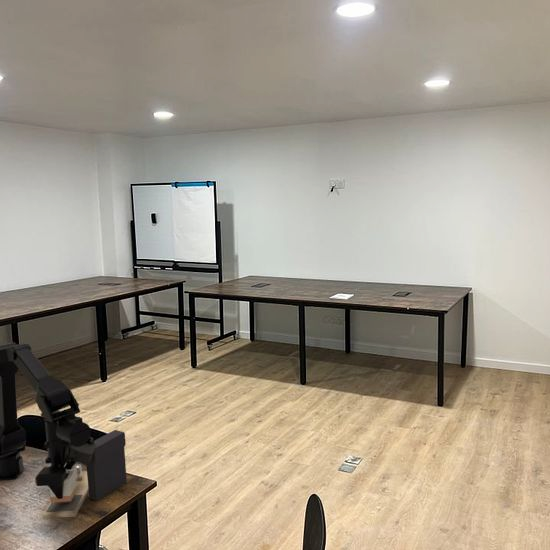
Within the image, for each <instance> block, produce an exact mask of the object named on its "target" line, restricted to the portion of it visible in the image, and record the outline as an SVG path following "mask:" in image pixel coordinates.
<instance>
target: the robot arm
mask: <svg viewBox="0 0 550 550" xmlns="http://www.w3.org/2000/svg"><path fill="white" fill-rule="evenodd" d="M19 371H20V372H21V374H22V375H23V377H24V378H25V380H26V381H27V382H28V384H29V385H30V386H31V388H32V389H33V390H34V392H35V398H34V399H35V402H36V404H37V408H38V409H39V411H40V412H41V413H40V417H42V418H44V427H45V428H44V429H45V430H44V431H45V437H46V438H45V439H46V440H45V442H44V443H43V448H44V449H46V450H47V451H46V452H47V456H46V458H45V460H44V461H45V464H50V466H45V467H42V469H41V470H40V471H39V472H38V473H37V475H36V476H35V478H34V480H35V486H36V487H45V486H46V487H48V489H49V488H50V489H51V490H52V492H53V493H54V494H55V496H56V497H57V498H58V499H62V498H63V488H64V481H65V480H66V478H67V477H68V475H69V473H67V474H66V470H70V469H74V466H75V465H76V463H78V464H81V465H84V466H86V465H88V464H89V463H90V461H91V459H92V458H93V454H94V451H95V448H96V447H95V445H96V444H94V441H95V439H94V437H92V436H91V435H92V428H91V427H90V425H89V424H88V423H86V422H83V418H82V417H80V416H76V415H77V414H80V413H81V409H80V407H79V406H80V404H79V403H78V401H77V399H76V397H75V396H74V394H73V391H72V389H70V387H68V386H67V385H66V384H65V383H64V382H63V381H62V380H60V379H57V378H55V377H52V376H51V374H50V373H49V372H48V370H47V369H46V368H45V367H44V365H43V364H42V363H41V362H40V360H39V359H38V358H37V356H35V354H34V353H33V351H32V348H31V346H30V344H29V343H20V344H17V343H16V342H13V341H12V342H9V343H3V344H0V481H2V480H15V479H17V478H18V477H19V475H20V474H21V473H22V472H23V470H24V469H25V466H24V461H23V459H24V458H23V456H21V452H24V451H26V443H27V436H26V435H27V434H26V430H25V429H24V428H23V427H22V425H20V423H19V421H18V406H17V405H18V404H17V403H18V400H17V381H16V380H17V379H16V378H17V377H16V375H17V373H18V372H19Z"/></svg>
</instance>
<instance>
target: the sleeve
mask: <svg viewBox="0 0 550 550" xmlns="http://www.w3.org/2000/svg"><path fill="white" fill-rule="evenodd" d="M67 473H69V475H68V477H67V478H66V480H65V481H64V488H63V498H62V499H58V498H57V497H56V496H55V494H54V493H53V492H52V490H51V489H50V488H49V487H48V489H49V499H50V502H68V501H71V500H72V498H73V497H74V495H75V493H76V491H77V486H76V475H75V469H74V468H73V469H70V470H66V474H67Z"/></svg>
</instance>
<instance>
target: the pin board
mask: <svg viewBox="0 0 550 550" xmlns="http://www.w3.org/2000/svg"><path fill="white" fill-rule="evenodd" d="M76 486H77V491H76V493H75V495H74V497H73V498H72V500H71V501H69V503H68V504H66V505H61V504H60V502H51V501H50V502H49V504H48V505H47V507H46V508H45V510H44V512H43V513H42V519H59V518H73V517H76V516H77V515H78V513H79V511H80V509H81V507H82V505H83V502H84V501H85V499H86V497H87V496H88V494H89V490H88V478H87V470H84V471H83V470H82V480H81V481H76Z"/></svg>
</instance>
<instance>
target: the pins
mask: <svg viewBox="0 0 550 550" xmlns="http://www.w3.org/2000/svg"><path fill="white" fill-rule="evenodd" d="M82 468H83V467H82V464H81V463H78V464H74V465H73V469H75V475H76V481H81V480H82V471H83V470H82ZM68 503H69V501H68V502H60V504H61V505H66V504H68Z"/></svg>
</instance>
